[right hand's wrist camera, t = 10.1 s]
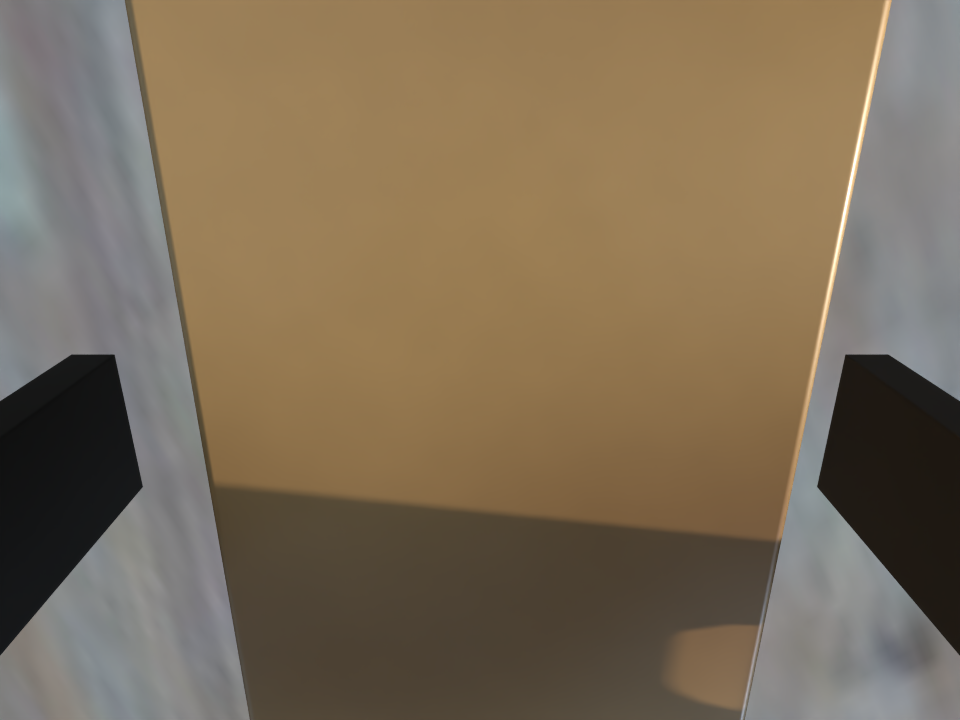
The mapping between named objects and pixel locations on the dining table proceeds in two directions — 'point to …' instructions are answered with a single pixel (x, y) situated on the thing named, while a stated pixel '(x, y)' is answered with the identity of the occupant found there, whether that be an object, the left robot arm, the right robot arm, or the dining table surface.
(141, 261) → the dining table surface
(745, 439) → the bar
